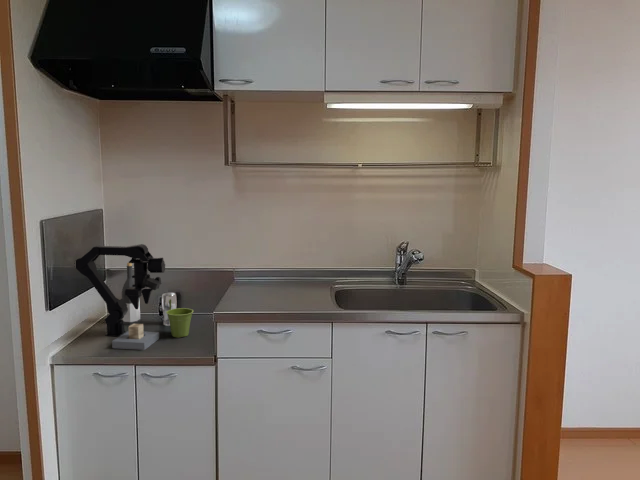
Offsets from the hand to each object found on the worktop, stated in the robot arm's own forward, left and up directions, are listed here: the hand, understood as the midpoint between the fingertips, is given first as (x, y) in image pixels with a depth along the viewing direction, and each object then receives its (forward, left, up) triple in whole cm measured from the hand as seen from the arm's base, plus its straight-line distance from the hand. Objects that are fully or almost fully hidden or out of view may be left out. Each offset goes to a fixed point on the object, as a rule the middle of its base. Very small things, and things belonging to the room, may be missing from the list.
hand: (141, 306), depth 212 cm
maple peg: (+3, -12, -13) cm, 18 cm away
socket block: (+3, -12, -13) cm, 18 cm away
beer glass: (+6, +16, -13) cm, 22 cm away
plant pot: (+18, +1, -13) cm, 22 cm away
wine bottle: (-13, +15, -13) cm, 24 cm away
